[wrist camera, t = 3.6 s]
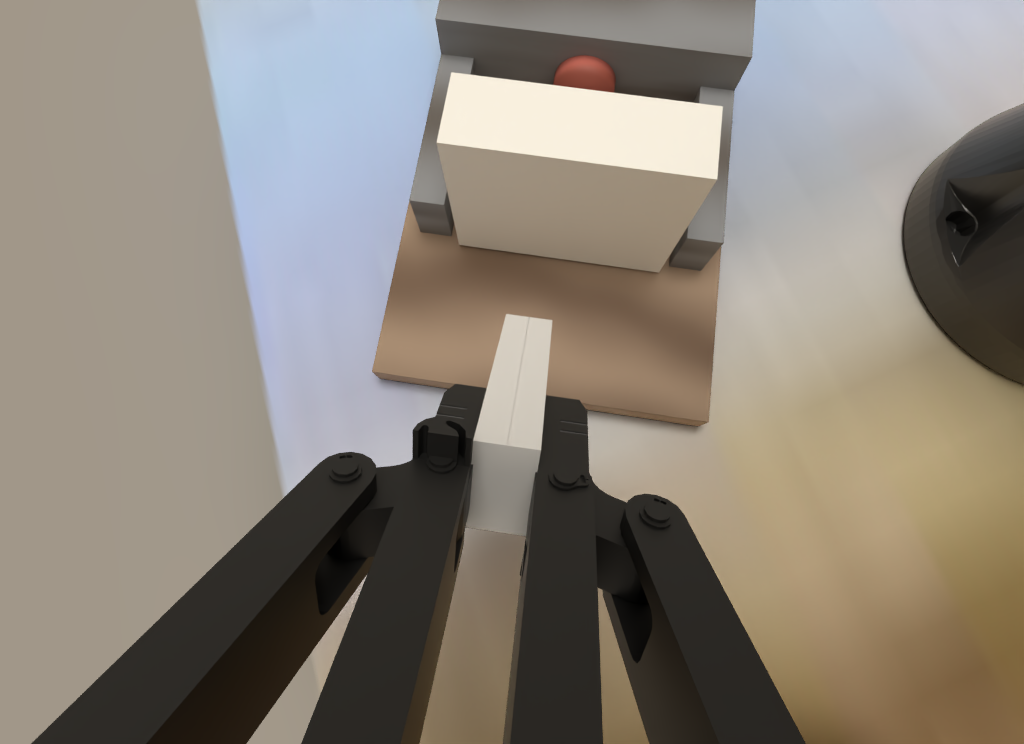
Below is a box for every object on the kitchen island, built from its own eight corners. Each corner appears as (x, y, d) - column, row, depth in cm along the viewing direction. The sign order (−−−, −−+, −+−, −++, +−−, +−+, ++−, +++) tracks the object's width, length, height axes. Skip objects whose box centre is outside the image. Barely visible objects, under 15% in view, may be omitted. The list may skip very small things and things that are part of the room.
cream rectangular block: (658, 272, 27) (717, 179, 19) (459, 244, 27) (436, 142, 19) (664, 218, 28) (722, 106, 20) (469, 191, 28) (451, 72, 20)
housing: (698, 426, 27) (754, 403, 20) (379, 378, 27) (338, 341, 21) (726, 54, 32) (778, -57, 25) (456, 21, 32) (442, -95, 26)
